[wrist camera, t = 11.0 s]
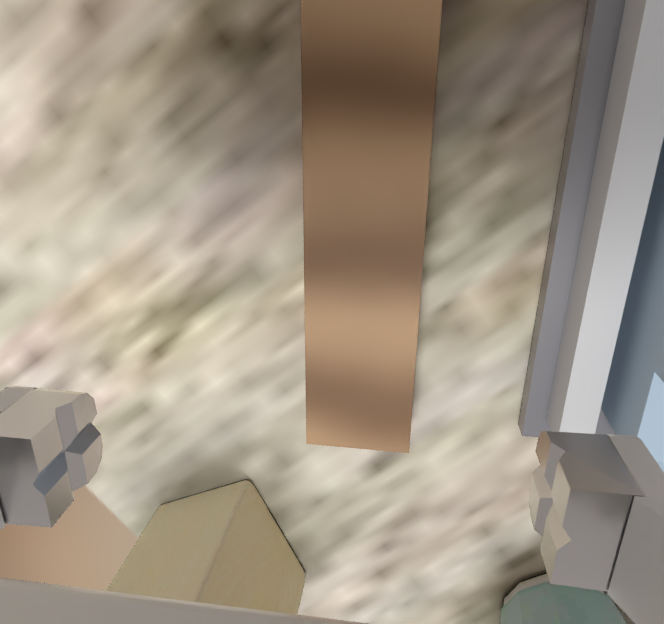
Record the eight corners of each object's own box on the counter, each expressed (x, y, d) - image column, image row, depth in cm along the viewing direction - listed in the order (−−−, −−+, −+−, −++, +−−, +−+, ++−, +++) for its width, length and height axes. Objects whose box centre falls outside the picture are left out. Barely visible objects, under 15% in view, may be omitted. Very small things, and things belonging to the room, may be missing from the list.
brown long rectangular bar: (314, -15, 22) (300, -29, 19) (440, -17, 21) (444, -32, 18) (316, 410, 29) (306, 443, 27) (409, 418, 29) (408, 452, 26)
